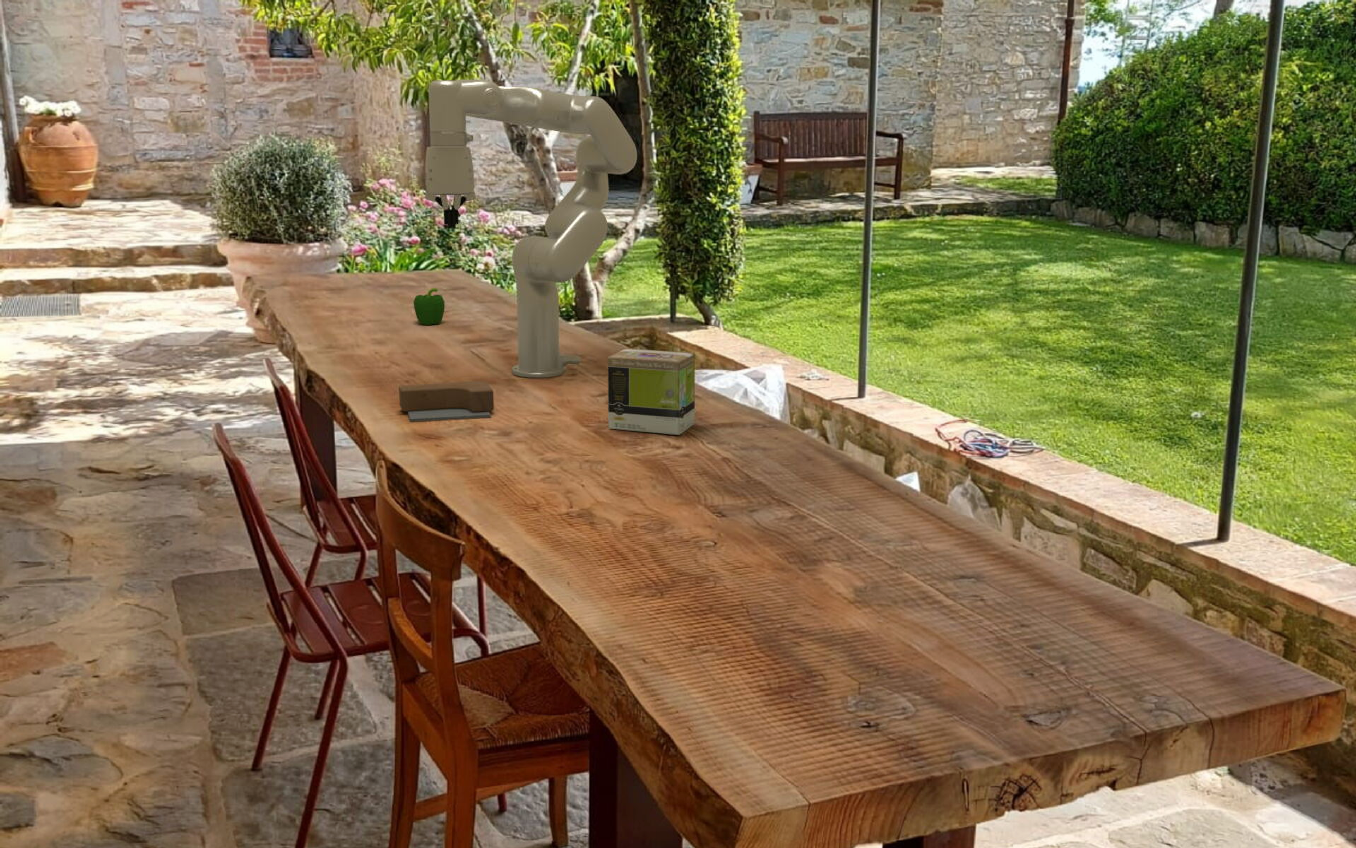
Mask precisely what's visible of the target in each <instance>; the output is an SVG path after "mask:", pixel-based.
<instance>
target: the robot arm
mask: <svg viewBox="0 0 1356 848" xmlns="http://www.w3.org/2000/svg"><path fill="white" fill-rule="evenodd" d="M428 107H429V110H428V111H429V135H430V137H429V139H430V146H427V147H426V153H425V160H424V161H425V166H424V167H425V168H424V180H425V181H424V184H425V195H424V199H425V200H426V201H430V202H435V203H436V204H438V205H439V206H440V207H441V208H442V209H443V224H444V225H446V226H447V227H446V228H447V229H456V228H457V225H459V219H460V218H459V209H460V208H461V207H462V206H463V205H464V204H465V203H466V202H469V201H474V200H476V198H477V196H476V193H475V174H474V173H475V172H474V164H473V158H472V152H471V148H470V147H469V146H467V145H468V143H471V142H474V134H469V133H467V117H470V118H476V119H484V120H488V121H490V120H491V121H494V122H495V121H496V122H502V123H507V124H511V125H516V126H521V127H529V128H535V129H541V130H547V131H553V132H557V133H558V132H559V133H565V134H573V135H587V136H585V137H584V138H583V139H581V140H580V141H579V143H578V145H577V147H576V150H575V151H576V152H575V153H576V154H575V158H576V165H577V175H576V180H575V183H574V184H573V186H572V187H571V189H569V191H568V192H567V193H566V194H565V195H564V196H563V198H562V199H561V200H560V201H559V202H558V203H557V205H556V206H555V207H554V208H553V209H552V210H551V212H550V213H549V215H548V216H547V217H546V220H545V223H544V230H545V233H546V235H547V236H548V237H544V236H540V235H530V236H526V237H523V238H521V239H520V240H518V241H517V243H516V244H515V246H514V247H513V250H512V254H511V261H512V269H513V274H514V278H515V284H516V285H515V286H516V300H517V301H516V303H517V304H516V305H517V307H516V308H517V351H518V352H517V358H518V359H517V360H518V364H515V365H513V366H512V367H511V372H512V374H513V375H515V376H517V377H522V378H531V379H533V378H534V379H535V378H537V379H538V378H539V379H540V378H545V379H546V378H553V377H554V378H555V377H558V376H561V375H564V374H566V373H567V367H566V366H567V365H580V363H581V362H580V361H581V360H580V355H572V354H567V355H566V354H564V355H563V354H562V352H560V311H559V309H560V299H559V291H558V287H557V283H559V284H560V283H566V282H569V281H570V280H572V279H573V278H574V277H576V276H577V275H578V274H579V272H581V270H582V269H583V268H584V267H585V266H586V264H587V263H588V262H589V261H590V259H591V258H592V257H594V255H595V253H596V252H597V251H598V250H599V249H600V248H601V246H602V245H603V243H604V241H605V240H606V238H607V233H608V220H607V217H606V215H605V214H604V212H602V210H603V208H604V207H605V205H606V203H607V201H608V199H609V193H610V191H609V188H610V187H609V177H608V176H609V174H611V175H612V174H613V175H623V174H627V173H629V172H630V171H631V170H633V169H634V167H635V166H636V164H637V160H638V152H637V147H636V145H635V143H634V141H633V139H632V137H631V135H630V134H629V133H628V131H627V128H625V127H624V124H623V123H622V121H621V120H620V118H619V117H618V116H617V113H615V110H613V109H612V107H611V106H610V105H609V103H608V102H607V101H606V100H605V99H603V98H602V97H599V96H595V95H594V96H593V95H588V96H587V95H586V96H585V95H575V94H568V93H563V92H559V91H551V90H547V89H543V88H538V87H529V86H527V87H526V86H502V85H501V86H500V85H498V84H497V83H495V82H494V81H492V80H486V79H470V78H469V79H467V78H466V79H459V80H458V79H457V80H448V79H447V80H443V79H441V80H432V81H431V82H430V83H429V85H428ZM588 135H589V136H588ZM448 196H453V202H452V205H451V207H450V206H449V201H448Z"/></svg>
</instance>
